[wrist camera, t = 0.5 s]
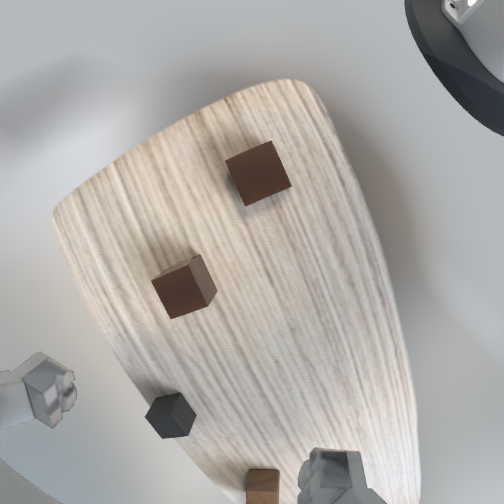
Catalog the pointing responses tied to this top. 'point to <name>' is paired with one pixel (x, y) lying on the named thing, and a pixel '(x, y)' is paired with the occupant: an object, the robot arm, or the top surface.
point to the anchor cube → (171, 416)
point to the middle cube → (185, 287)
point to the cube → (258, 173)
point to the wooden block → (262, 487)
